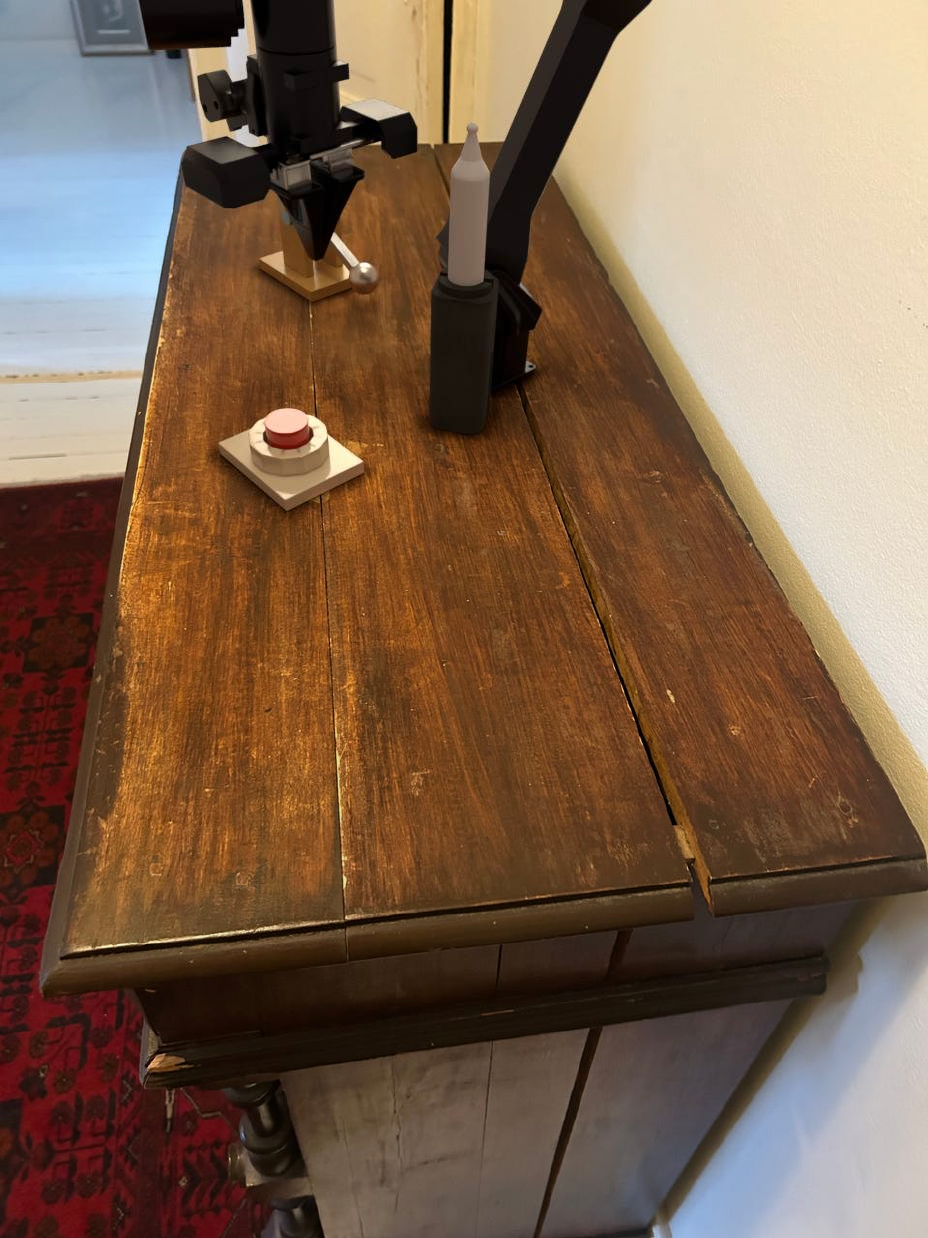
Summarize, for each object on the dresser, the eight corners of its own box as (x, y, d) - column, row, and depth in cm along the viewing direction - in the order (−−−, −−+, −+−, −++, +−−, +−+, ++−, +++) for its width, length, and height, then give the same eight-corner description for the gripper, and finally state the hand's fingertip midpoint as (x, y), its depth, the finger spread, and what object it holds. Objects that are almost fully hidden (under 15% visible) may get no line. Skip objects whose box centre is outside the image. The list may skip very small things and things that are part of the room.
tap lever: (381, 295, 94) (388, 273, 91) (357, 304, 92) (363, 282, 89) (311, 210, 96) (316, 186, 93) (287, 218, 94) (291, 193, 91)
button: (318, 439, 73) (317, 422, 72) (283, 456, 71) (280, 438, 70) (293, 420, 75) (291, 403, 73) (258, 436, 73) (255, 418, 72)
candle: (481, 436, 79) (501, 138, 60) (426, 427, 79) (430, 129, 61) (491, 405, 82) (513, 114, 64) (438, 397, 83) (445, 106, 64)
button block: (364, 472, 74) (362, 443, 72) (286, 511, 71) (282, 482, 68) (296, 420, 79) (293, 391, 77) (220, 453, 75) (214, 424, 73)
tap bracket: (369, 280, 98) (366, 200, 92) (311, 302, 94) (304, 220, 88) (317, 249, 103) (310, 170, 96) (259, 268, 99) (249, 188, 92)
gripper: (330, 0, 70) (343, 199, 82) (118, 38, 61) (167, 257, 72) (422, 31, 65) (422, 240, 76) (206, 79, 56) (243, 307, 67)
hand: (315, 258), depth 73 cm, fingers closed
